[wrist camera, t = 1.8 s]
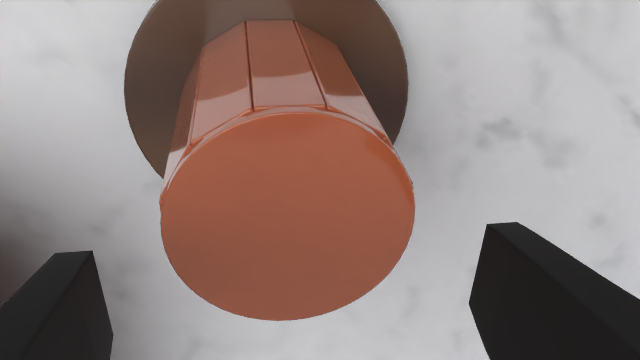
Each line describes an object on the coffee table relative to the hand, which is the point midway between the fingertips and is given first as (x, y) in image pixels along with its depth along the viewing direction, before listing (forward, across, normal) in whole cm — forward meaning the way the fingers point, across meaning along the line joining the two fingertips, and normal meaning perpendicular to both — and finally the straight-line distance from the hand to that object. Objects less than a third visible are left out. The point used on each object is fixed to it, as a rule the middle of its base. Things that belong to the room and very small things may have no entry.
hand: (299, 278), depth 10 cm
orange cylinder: (+8, 0, 0) cm, 8 cm away
